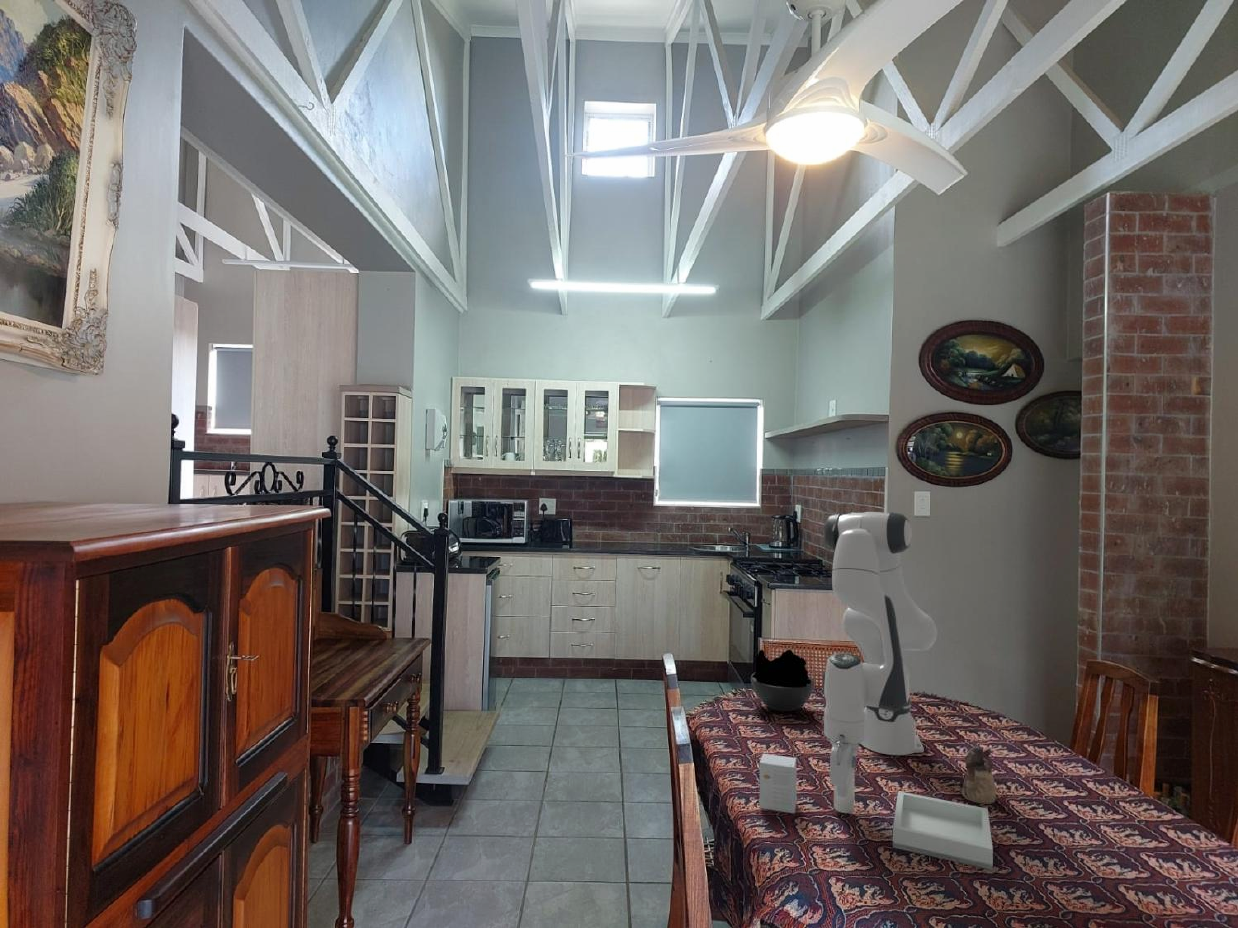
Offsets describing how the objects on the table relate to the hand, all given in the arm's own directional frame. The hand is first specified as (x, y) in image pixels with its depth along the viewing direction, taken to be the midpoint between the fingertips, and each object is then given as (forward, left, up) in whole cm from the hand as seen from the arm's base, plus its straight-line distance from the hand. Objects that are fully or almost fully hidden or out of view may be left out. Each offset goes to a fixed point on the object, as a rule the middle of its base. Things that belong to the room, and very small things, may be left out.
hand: (844, 789), depth 154 cm
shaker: (0, 0, -4) cm, 4 cm away
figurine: (-23, +28, -6) cm, 36 cm away
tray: (+1, +20, -5) cm, 21 cm away
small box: (+3, -14, -6) cm, 15 cm away
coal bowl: (-62, -27, -6) cm, 68 cm away
